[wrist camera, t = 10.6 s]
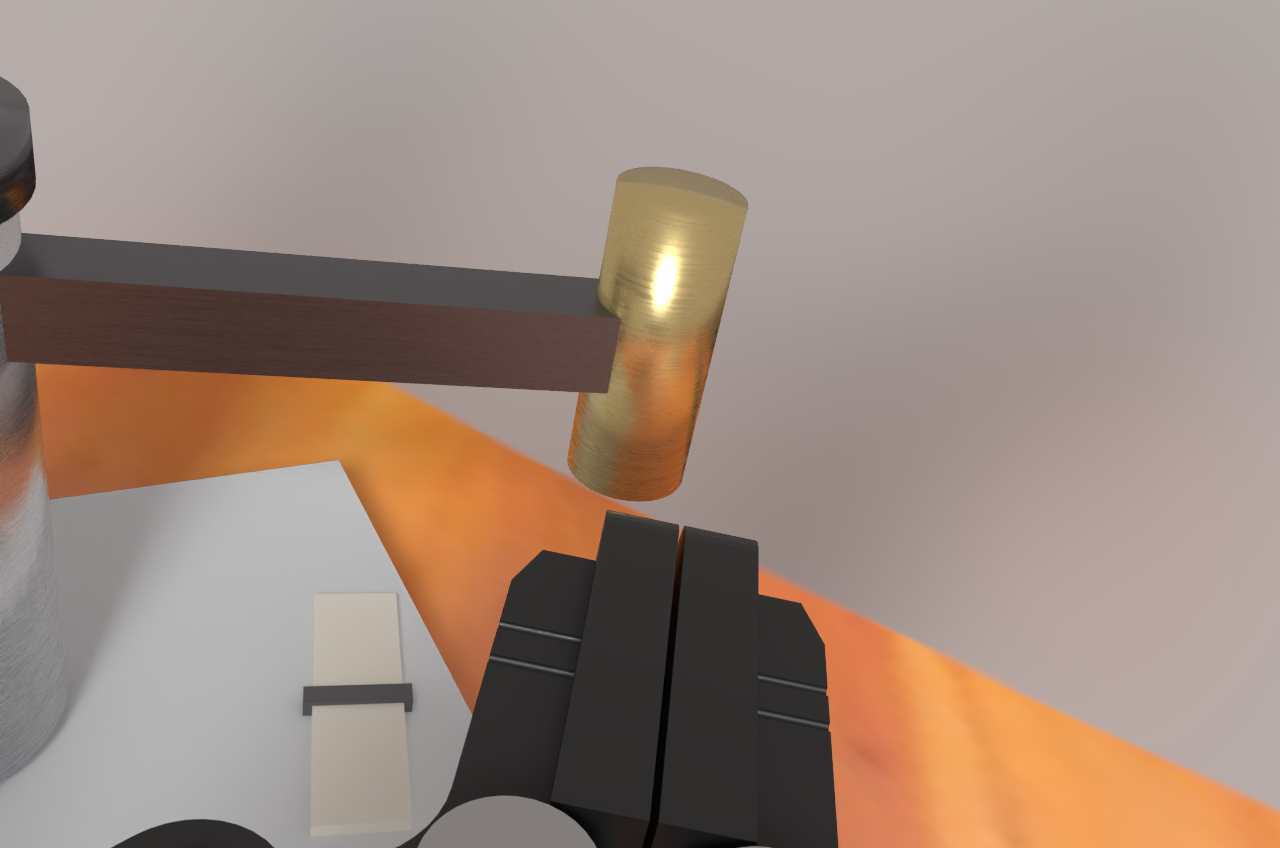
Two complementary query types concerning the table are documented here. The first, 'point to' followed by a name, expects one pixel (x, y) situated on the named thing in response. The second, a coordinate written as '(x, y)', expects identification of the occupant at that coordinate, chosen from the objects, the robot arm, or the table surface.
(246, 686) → the stand
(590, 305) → the capstan
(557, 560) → the robot arm
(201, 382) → the table surface
